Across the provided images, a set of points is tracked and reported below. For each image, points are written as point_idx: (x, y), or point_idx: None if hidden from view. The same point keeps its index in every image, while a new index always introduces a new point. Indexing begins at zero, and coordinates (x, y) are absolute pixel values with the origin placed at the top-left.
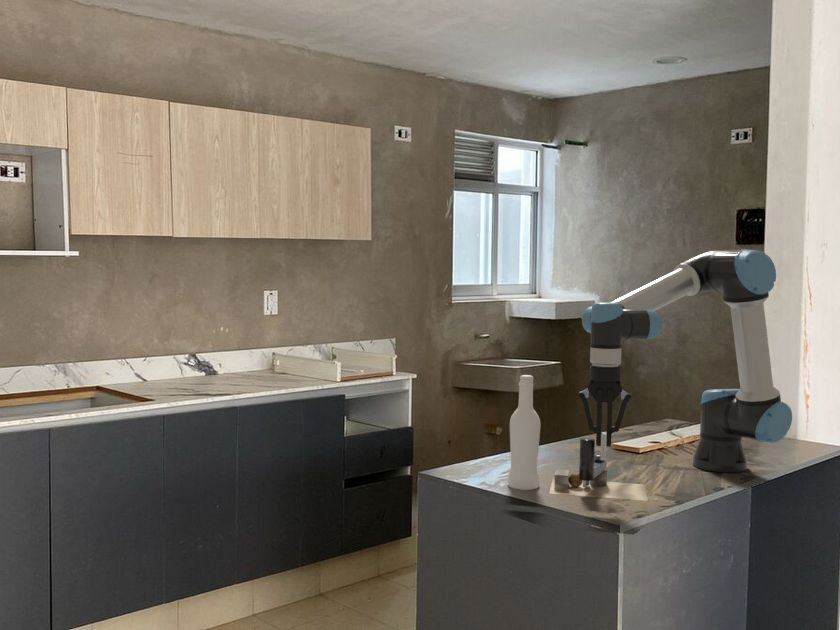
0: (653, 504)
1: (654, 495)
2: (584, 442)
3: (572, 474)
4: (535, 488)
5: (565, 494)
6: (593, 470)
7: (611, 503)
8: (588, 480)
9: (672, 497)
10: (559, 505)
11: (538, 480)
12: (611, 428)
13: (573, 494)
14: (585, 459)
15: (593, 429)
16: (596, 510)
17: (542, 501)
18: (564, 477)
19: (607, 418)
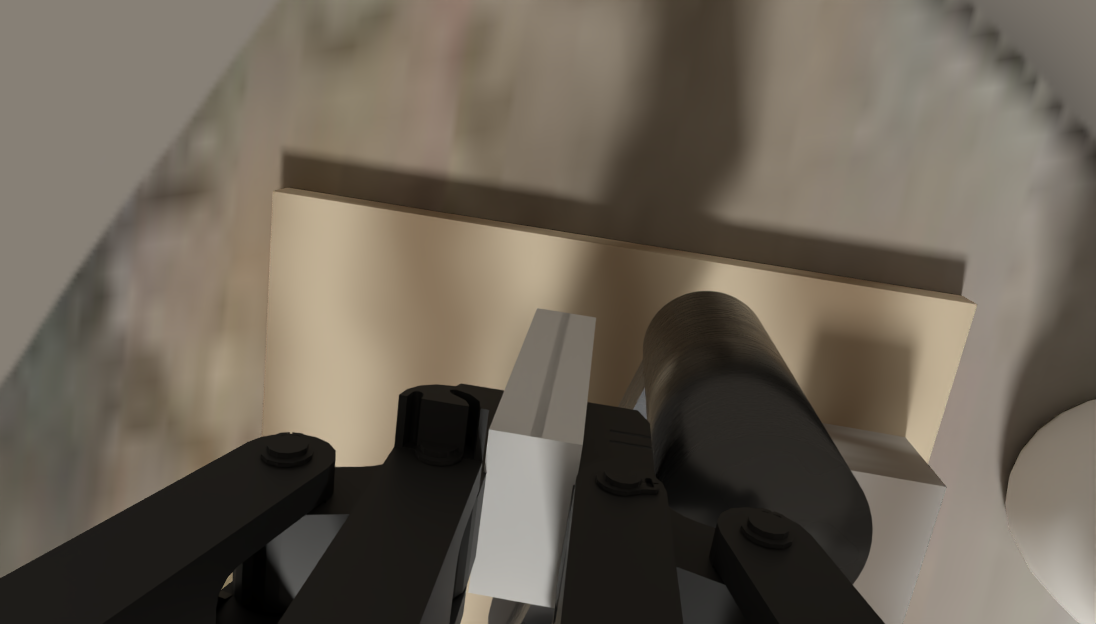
0: (247, 226)
1: (221, 434)
2: (821, 442)
3: None
4: (1055, 430)
5: (852, 291)
6: (653, 347)
7: (525, 216)
8: (696, 292)
9: (116, 400)
10: (922, 115)
11: (1053, 483)
12: (377, 477)
13: (789, 296)
14: (758, 353)
15: (724, 517)
16: (663, 17)
17: (1033, 208)
18: (858, 466)
19: (405, 616)
